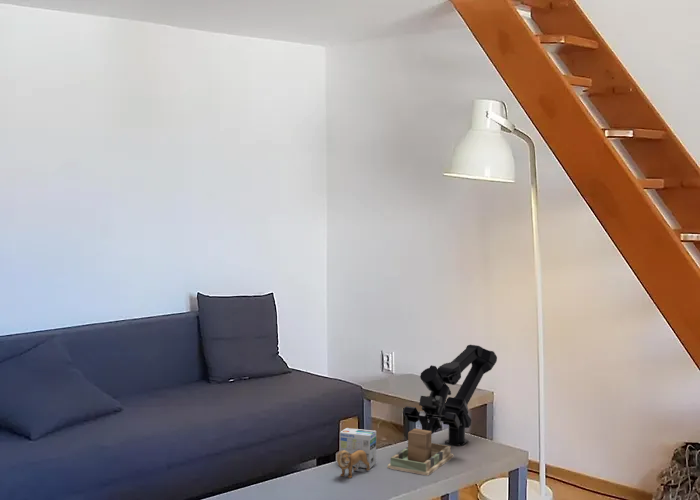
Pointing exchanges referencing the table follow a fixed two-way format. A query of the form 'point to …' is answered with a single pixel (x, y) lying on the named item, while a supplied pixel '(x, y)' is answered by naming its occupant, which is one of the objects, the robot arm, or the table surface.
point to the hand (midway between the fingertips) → (423, 439)
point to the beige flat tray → (438, 458)
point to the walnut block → (419, 445)
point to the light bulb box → (359, 443)
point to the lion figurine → (351, 461)
